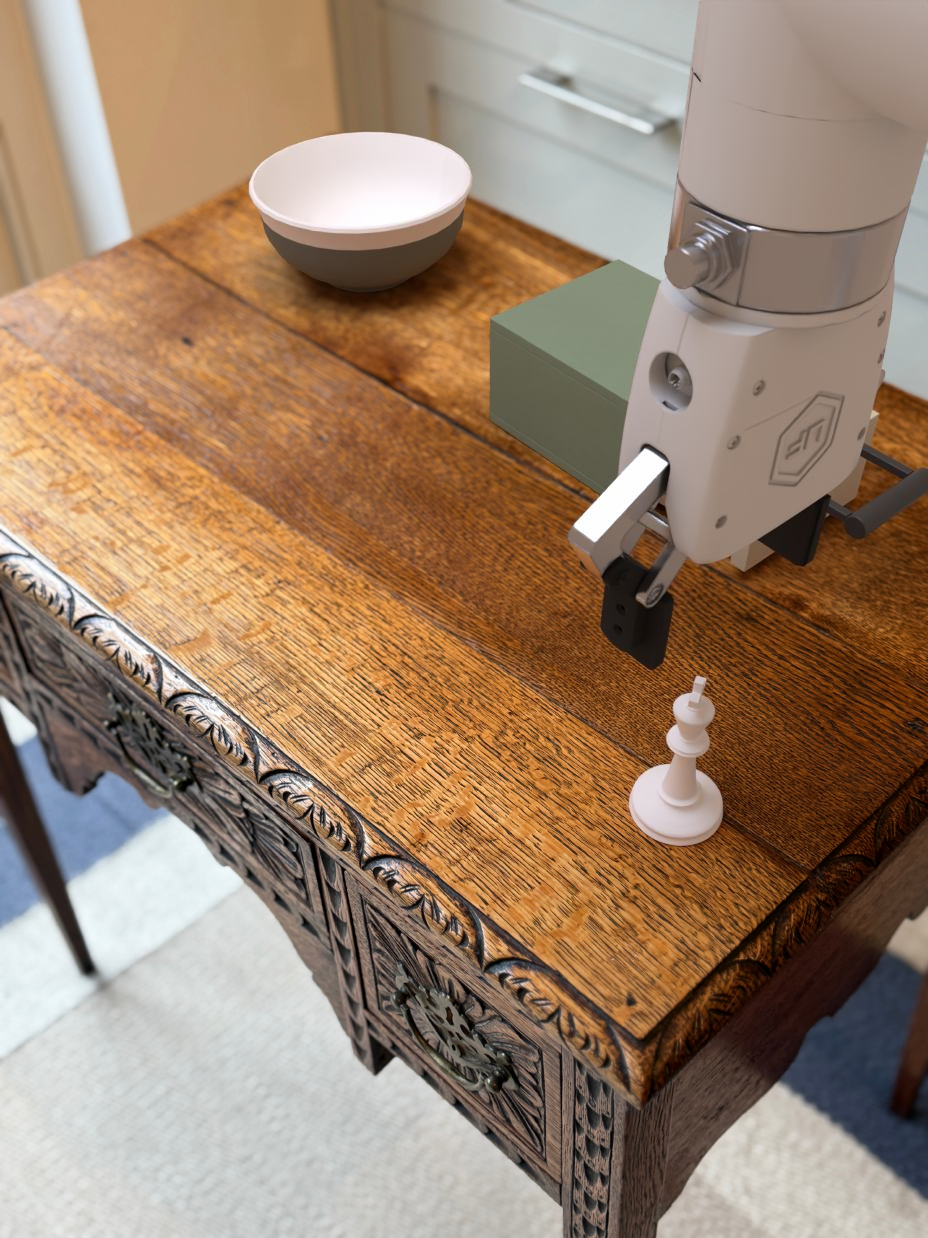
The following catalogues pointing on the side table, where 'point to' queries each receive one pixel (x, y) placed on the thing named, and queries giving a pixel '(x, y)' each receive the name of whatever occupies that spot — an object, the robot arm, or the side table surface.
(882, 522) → the drawer
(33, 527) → the side table surface
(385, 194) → the bowl
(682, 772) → the chess piece
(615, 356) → the cabinet
